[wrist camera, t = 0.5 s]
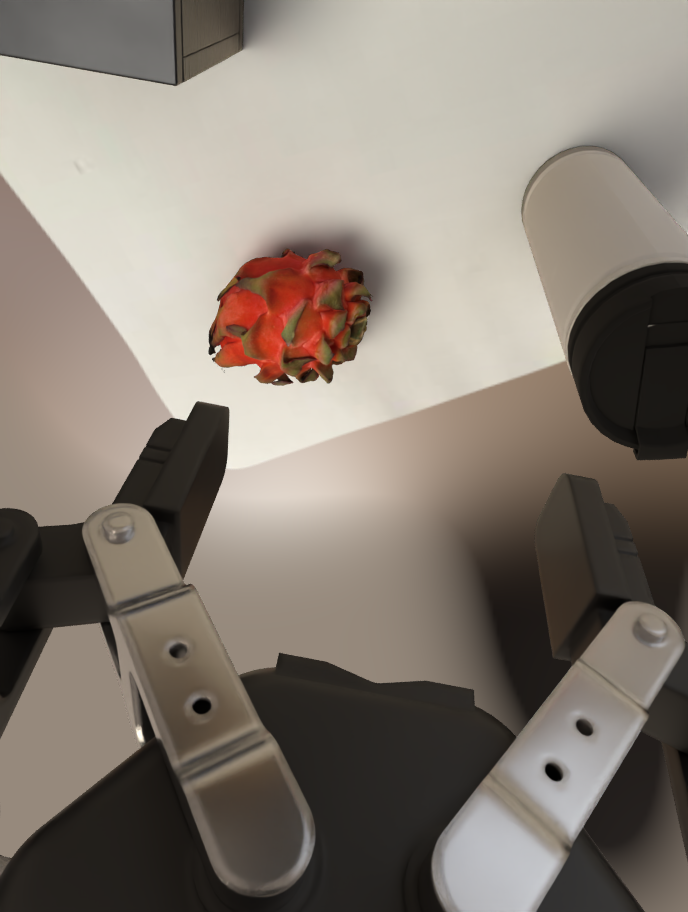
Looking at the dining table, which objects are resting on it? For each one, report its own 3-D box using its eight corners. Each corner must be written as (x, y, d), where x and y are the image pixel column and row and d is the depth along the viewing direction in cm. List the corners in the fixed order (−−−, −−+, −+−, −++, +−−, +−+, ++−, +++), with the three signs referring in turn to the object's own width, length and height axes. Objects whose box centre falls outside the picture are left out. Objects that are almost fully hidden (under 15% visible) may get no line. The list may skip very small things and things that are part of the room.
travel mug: (519, 265, 40) (573, 467, 24) (521, 152, 36) (588, 310, 20) (625, 254, 39) (752, 460, 23) (639, 137, 35) (804, 292, 19)
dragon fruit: (395, 265, 42) (247, 308, 48) (336, 192, 35) (169, 252, 40) (401, 384, 40) (246, 416, 45) (340, 333, 33) (163, 377, 38)
